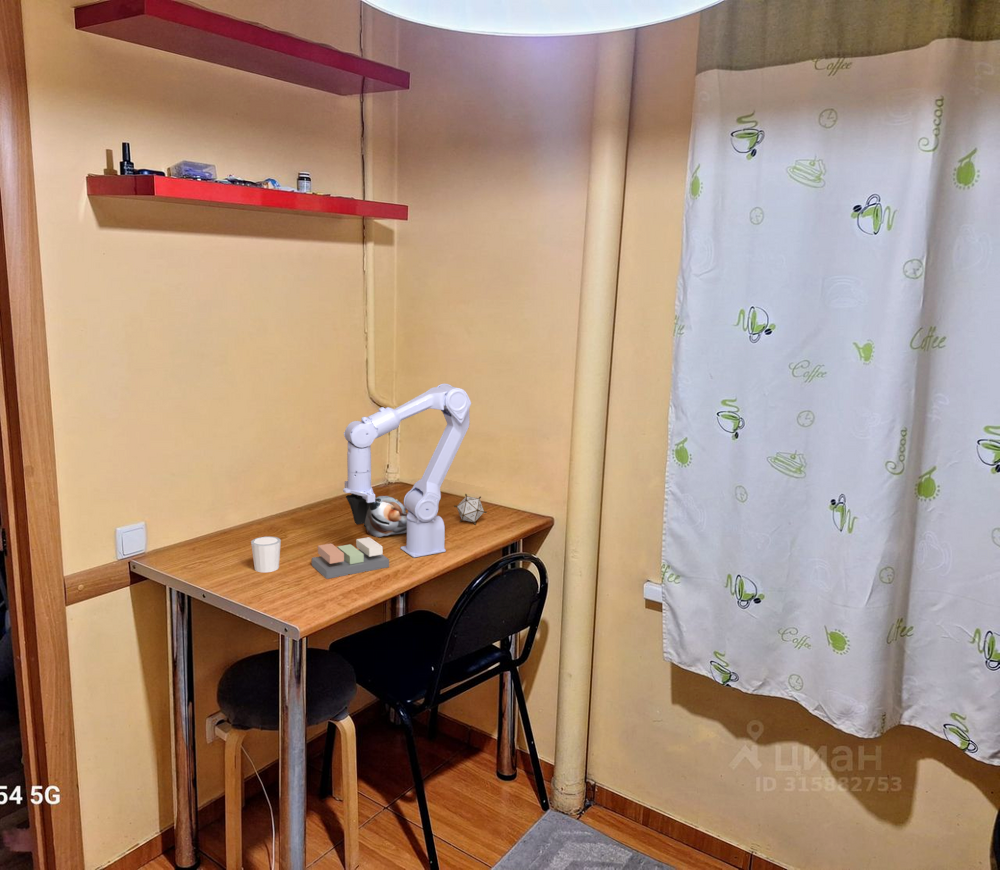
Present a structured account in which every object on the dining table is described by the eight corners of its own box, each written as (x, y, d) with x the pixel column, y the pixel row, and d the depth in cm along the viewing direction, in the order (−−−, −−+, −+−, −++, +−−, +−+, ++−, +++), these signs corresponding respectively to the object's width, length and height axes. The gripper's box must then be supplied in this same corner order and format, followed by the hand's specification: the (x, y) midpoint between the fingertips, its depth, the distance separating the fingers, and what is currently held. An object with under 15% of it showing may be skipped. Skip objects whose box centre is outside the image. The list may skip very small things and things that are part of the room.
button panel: (372, 554, 203) (372, 547, 202) (389, 567, 194) (389, 559, 194) (311, 565, 194) (311, 557, 194) (326, 578, 186) (326, 570, 185)
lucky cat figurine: (422, 528, 224) (424, 494, 215) (398, 555, 216) (398, 520, 207) (379, 507, 229) (379, 472, 220) (353, 532, 220) (352, 497, 211)
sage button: (350, 551, 198) (350, 544, 198) (363, 561, 191) (363, 554, 191) (337, 554, 196) (337, 546, 196) (349, 564, 190) (349, 556, 189)
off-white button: (369, 544, 201) (369, 537, 200) (382, 554, 194) (382, 546, 194) (356, 546, 199) (356, 539, 198) (369, 556, 192) (369, 548, 192)
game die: (464, 533, 233) (454, 501, 237) (491, 523, 233) (481, 492, 236) (458, 526, 225) (448, 494, 228) (486, 516, 225) (476, 484, 228)
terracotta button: (331, 551, 195) (331, 543, 195) (344, 561, 189) (343, 553, 188) (317, 553, 193) (317, 545, 193) (330, 563, 187) (329, 555, 186)
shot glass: (264, 575, 187) (263, 547, 185) (245, 568, 191) (244, 541, 189) (287, 567, 192) (286, 540, 191) (268, 561, 196) (268, 534, 195)
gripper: (332, 465, 198) (333, 517, 201) (355, 478, 187) (356, 533, 189) (359, 462, 202) (359, 513, 205) (383, 475, 190) (383, 529, 193)
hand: (359, 523), depth 197 cm, fingers closed
